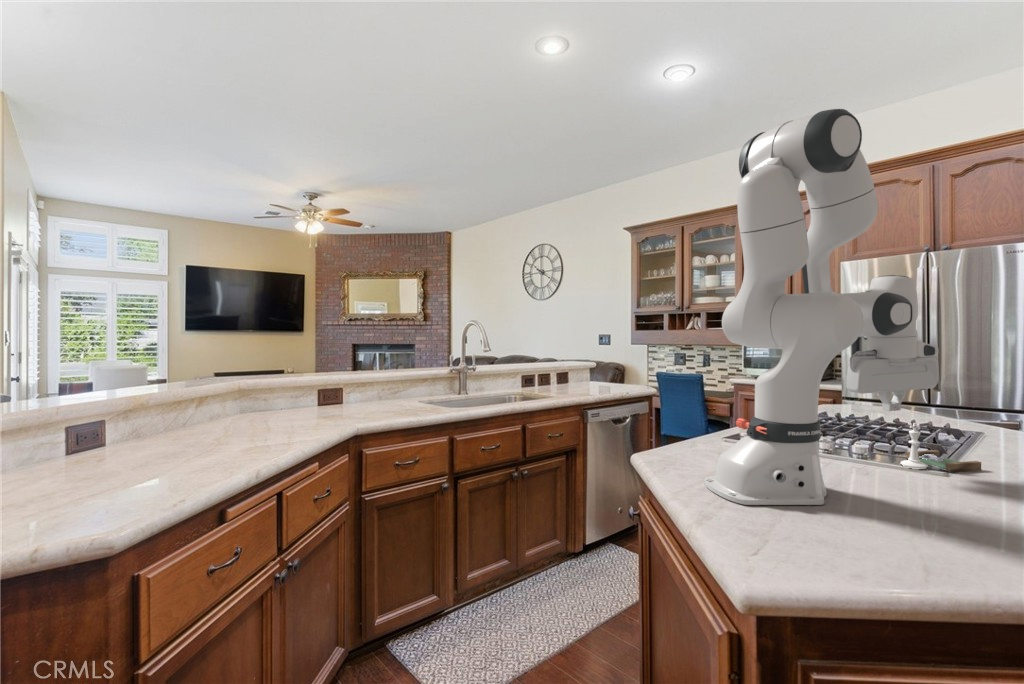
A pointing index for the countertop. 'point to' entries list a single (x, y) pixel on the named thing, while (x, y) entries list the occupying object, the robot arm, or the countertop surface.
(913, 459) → the chess piece
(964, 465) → the cradle
